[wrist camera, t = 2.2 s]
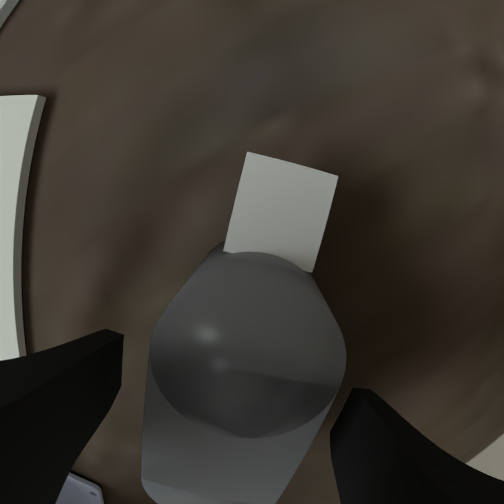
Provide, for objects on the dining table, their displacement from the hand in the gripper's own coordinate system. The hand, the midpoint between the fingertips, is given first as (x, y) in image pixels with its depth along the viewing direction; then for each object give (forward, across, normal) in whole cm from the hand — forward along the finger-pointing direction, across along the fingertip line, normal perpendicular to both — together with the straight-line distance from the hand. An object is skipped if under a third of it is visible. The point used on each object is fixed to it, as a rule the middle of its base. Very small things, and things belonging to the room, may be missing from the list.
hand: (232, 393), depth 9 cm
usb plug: (+3, 0, -1) cm, 3 cm away
